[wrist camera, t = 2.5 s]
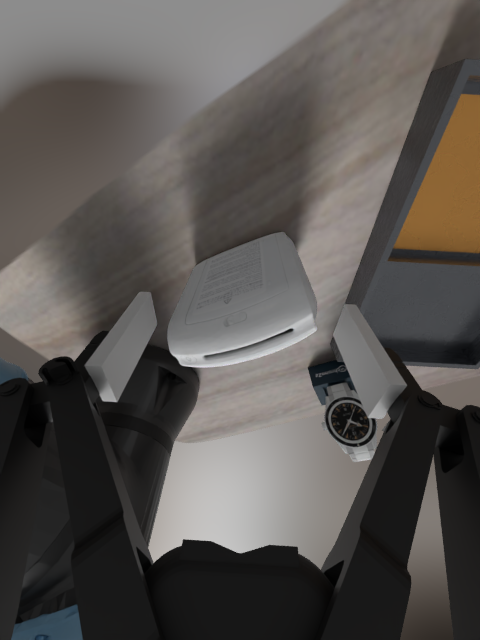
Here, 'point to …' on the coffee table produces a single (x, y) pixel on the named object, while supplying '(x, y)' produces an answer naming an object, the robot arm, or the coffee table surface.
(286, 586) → the robot arm
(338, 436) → the watch
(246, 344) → the photo printer
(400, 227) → the tray
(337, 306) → the coffee table surface
